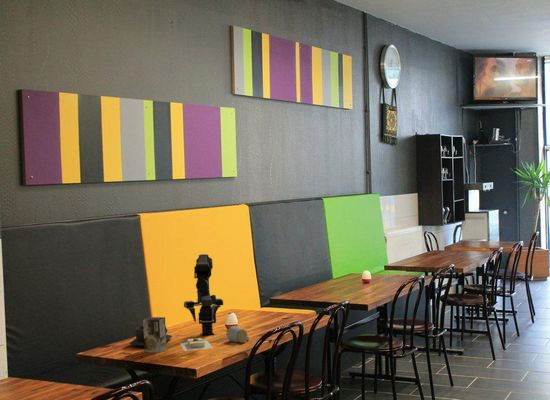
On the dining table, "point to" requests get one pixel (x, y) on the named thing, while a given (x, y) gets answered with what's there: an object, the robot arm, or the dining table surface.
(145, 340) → the coffee box
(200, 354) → the dining table surface
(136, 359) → the dining table surface
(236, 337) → the ceramic mug
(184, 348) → the mat
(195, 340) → the lid
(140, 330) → the casserole
